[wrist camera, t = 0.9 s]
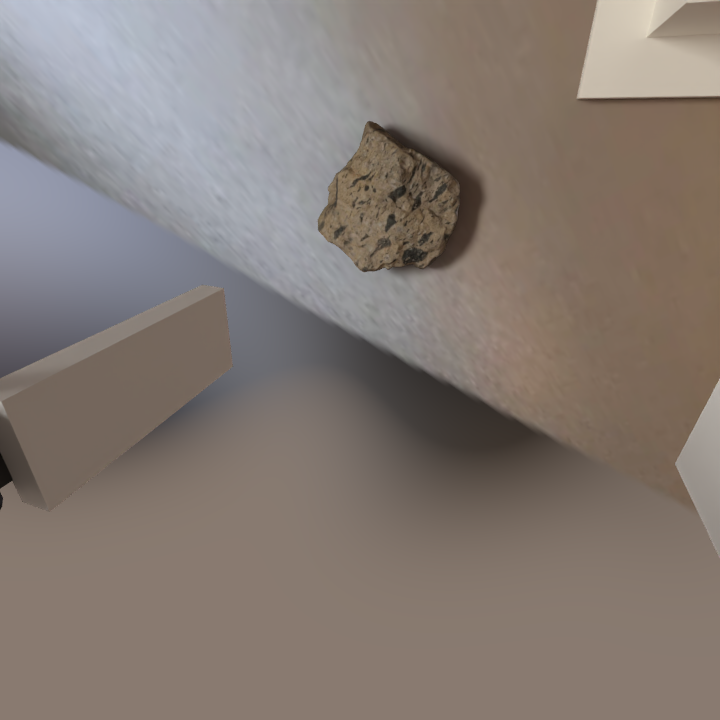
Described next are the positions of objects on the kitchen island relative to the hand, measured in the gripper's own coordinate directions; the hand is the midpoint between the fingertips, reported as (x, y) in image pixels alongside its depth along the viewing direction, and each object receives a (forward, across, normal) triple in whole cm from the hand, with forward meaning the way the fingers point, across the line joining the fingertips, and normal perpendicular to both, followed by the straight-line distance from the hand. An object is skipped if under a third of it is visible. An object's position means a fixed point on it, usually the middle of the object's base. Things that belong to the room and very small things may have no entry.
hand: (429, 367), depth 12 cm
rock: (+30, -9, 0) cm, 31 cm away
